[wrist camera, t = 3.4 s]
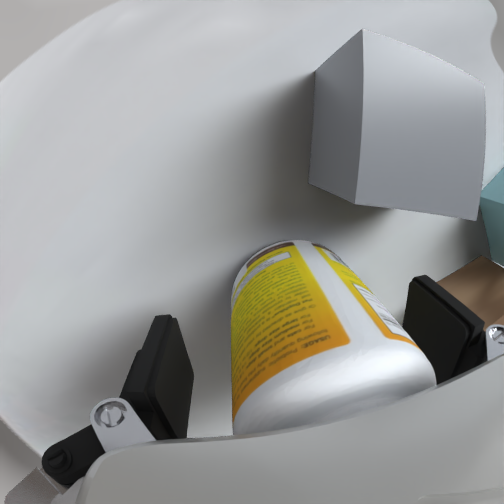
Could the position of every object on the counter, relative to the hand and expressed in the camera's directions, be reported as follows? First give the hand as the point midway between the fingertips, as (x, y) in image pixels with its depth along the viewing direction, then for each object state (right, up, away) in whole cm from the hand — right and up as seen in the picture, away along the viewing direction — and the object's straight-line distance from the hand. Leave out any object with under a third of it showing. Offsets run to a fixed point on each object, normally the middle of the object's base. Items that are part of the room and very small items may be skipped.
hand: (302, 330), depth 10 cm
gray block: (+3, +8, +1) cm, 9 cm away
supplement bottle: (0, +1, +3) cm, 3 cm away
